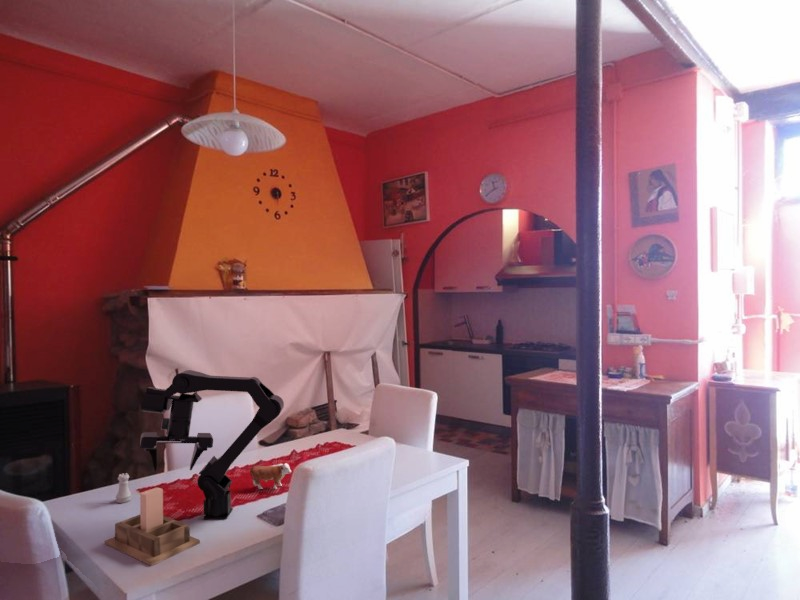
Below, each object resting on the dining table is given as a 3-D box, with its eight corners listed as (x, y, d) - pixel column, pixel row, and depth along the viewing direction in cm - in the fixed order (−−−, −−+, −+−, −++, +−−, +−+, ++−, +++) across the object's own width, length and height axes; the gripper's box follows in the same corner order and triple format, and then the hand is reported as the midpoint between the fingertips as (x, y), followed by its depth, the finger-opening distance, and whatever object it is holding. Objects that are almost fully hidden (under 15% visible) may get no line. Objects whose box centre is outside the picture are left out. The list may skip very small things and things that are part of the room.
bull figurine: (290, 490, 167) (290, 465, 167) (248, 490, 167) (248, 465, 167) (293, 485, 171) (293, 460, 171) (252, 485, 171) (252, 460, 171)
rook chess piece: (114, 504, 156) (114, 477, 156) (116, 499, 160) (115, 473, 160) (131, 502, 158) (131, 475, 158) (132, 496, 162) (132, 471, 162)
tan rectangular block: (157, 535, 134) (157, 487, 134) (163, 538, 133) (162, 489, 133) (140, 542, 130) (140, 492, 130) (146, 545, 129) (146, 494, 129)
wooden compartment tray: (153, 524, 143) (152, 507, 142) (199, 543, 132) (199, 524, 132) (104, 543, 132) (104, 524, 132) (151, 565, 121) (151, 545, 121)
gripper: (212, 409, 159) (205, 460, 159) (144, 407, 151) (136, 460, 151) (216, 419, 149) (209, 473, 149) (144, 417, 141) (136, 474, 141)
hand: (173, 470), depth 148 cm, fingers open, 9 cm apart
